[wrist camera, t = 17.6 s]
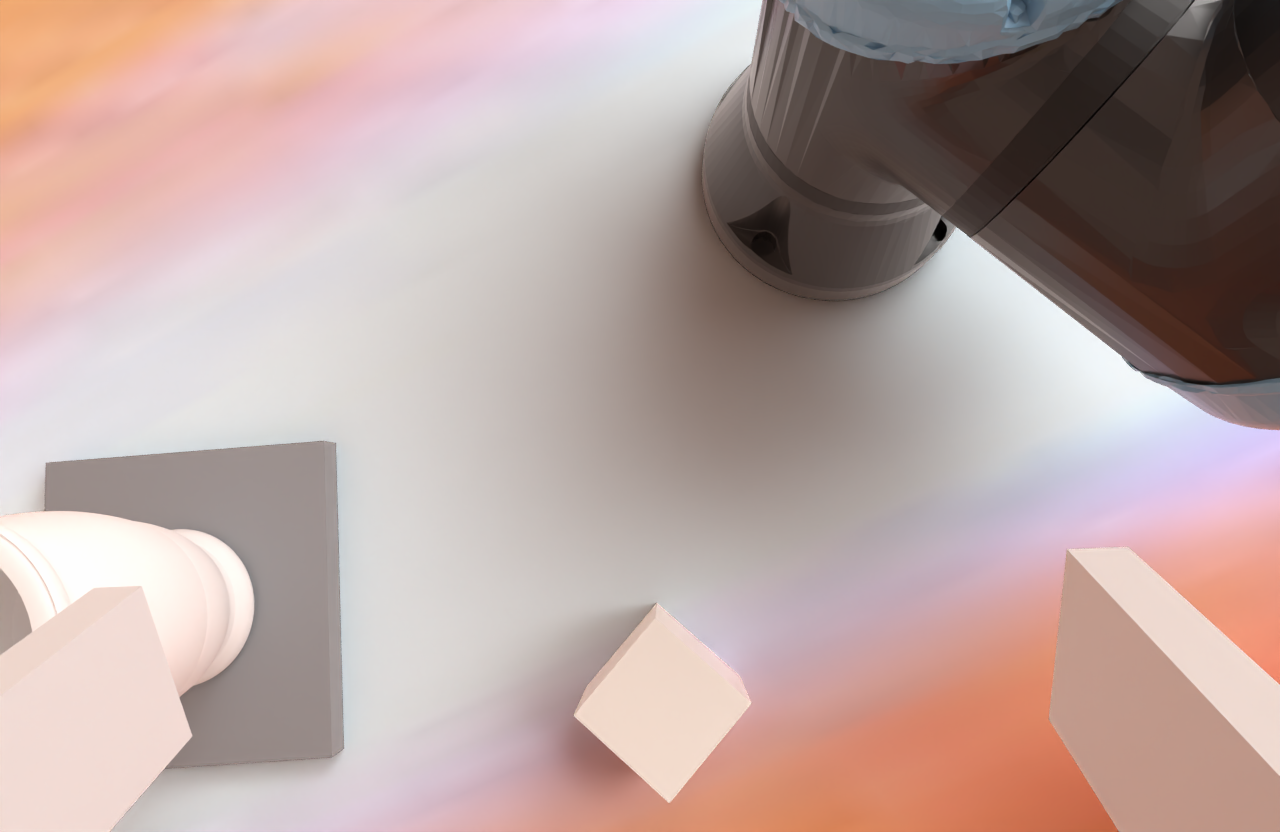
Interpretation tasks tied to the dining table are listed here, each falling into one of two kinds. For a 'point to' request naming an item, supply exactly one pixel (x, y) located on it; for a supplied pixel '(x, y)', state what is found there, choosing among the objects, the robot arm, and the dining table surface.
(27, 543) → the jar
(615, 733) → the offwhite block
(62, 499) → the slate board
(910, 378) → the dining table surface
